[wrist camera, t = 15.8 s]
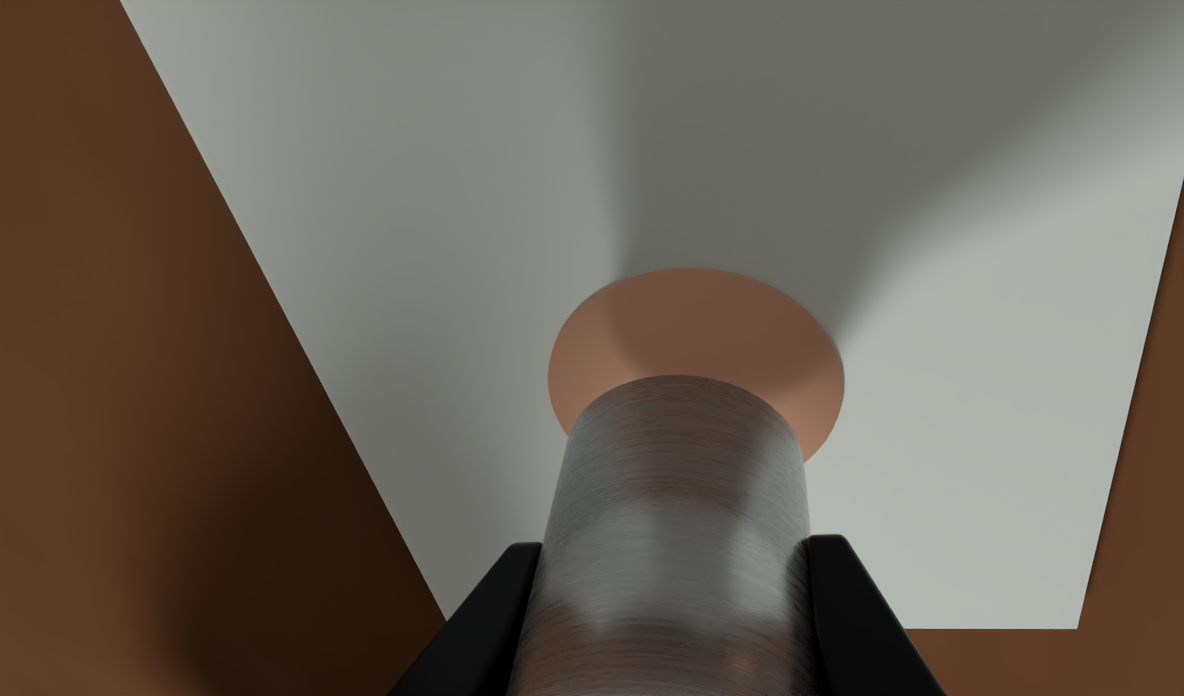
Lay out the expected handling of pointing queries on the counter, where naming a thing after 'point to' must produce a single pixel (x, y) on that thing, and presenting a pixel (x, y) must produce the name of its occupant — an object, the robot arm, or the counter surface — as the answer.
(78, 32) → the counter surface
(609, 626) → the pin
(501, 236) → the board
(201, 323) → the counter surface
